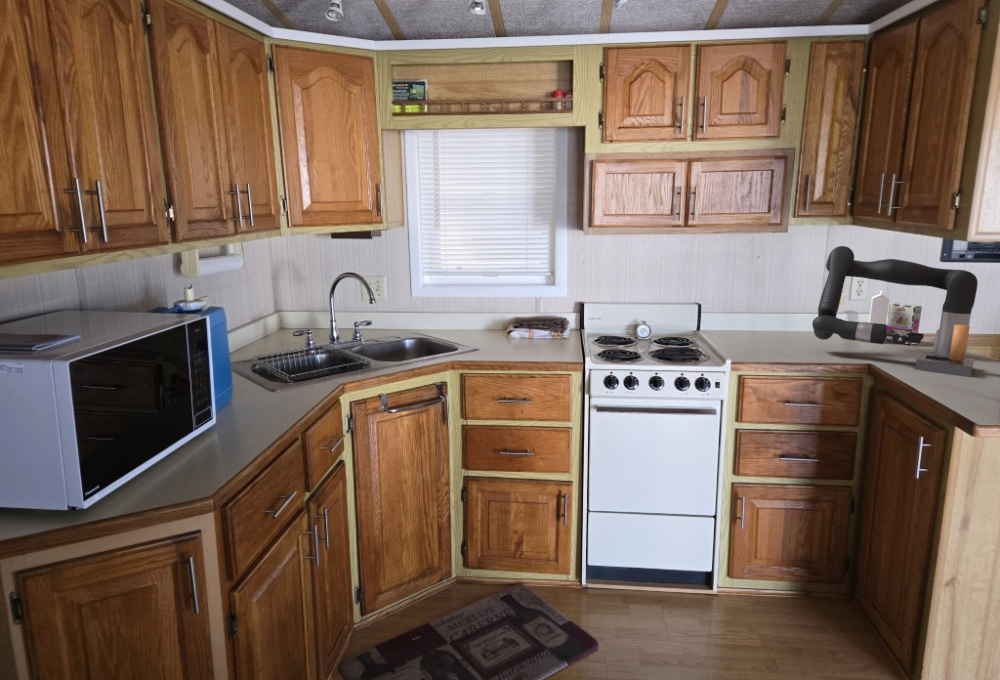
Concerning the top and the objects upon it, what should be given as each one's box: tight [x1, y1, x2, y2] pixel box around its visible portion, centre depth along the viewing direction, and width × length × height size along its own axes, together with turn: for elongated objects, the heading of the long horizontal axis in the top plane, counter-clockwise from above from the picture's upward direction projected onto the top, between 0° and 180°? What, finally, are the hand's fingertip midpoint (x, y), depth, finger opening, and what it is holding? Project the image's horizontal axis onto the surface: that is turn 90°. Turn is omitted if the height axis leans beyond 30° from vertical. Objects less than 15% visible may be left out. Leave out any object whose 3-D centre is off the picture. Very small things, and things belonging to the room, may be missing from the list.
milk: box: [868, 290, 890, 325], centre depth 277 cm, size 6×6×22 cm
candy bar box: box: [886, 302, 923, 344], centre depth 277 cm, size 11×5×16 cm, turn 25°
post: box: [949, 325, 970, 362], centre depth 227 cm, size 5×5×16 cm
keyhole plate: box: [914, 352, 975, 378], centre depth 231 cm, size 16×16×4 cm
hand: (922, 338), depth 234 cm, fingers open, 8 cm apart
